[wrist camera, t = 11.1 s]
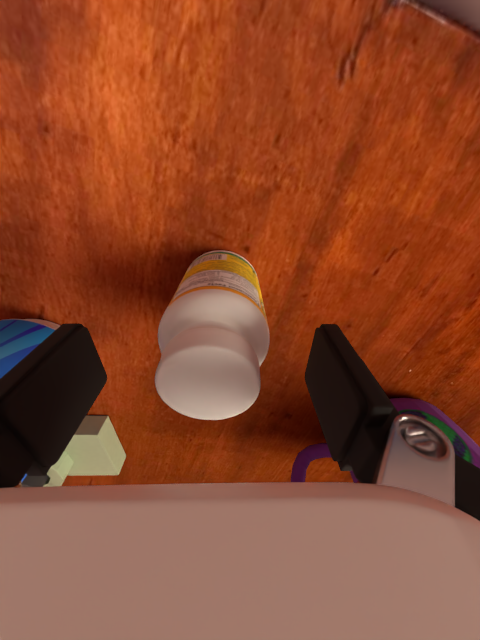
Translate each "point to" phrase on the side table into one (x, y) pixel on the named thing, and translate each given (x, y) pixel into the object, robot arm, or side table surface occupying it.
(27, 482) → the lid button
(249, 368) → the supplement bottle
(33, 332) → the beer can
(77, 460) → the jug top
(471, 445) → the mug
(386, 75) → the side table surface
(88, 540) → the robot arm
